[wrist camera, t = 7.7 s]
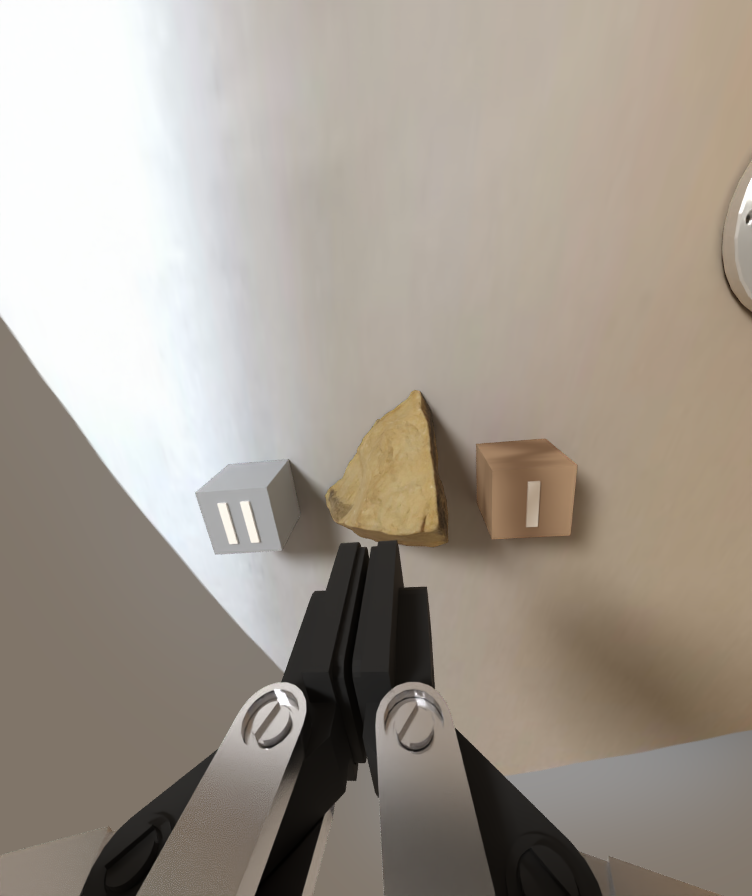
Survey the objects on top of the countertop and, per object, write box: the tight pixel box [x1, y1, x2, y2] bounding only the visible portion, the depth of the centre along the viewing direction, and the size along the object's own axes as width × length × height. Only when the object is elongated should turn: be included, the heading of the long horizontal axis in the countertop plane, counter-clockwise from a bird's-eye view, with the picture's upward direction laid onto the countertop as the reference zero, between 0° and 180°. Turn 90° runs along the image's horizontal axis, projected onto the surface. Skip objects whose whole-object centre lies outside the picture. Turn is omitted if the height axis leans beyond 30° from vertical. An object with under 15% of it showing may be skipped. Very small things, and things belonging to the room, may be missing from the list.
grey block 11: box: [195, 459, 301, 555], centre depth 26 cm, size 5×5×5 cm
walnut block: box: [476, 439, 577, 539], centre depth 24 cm, size 5×5×5 cm
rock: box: [325, 390, 448, 547], centre depth 24 cm, size 11×9×10 cm
